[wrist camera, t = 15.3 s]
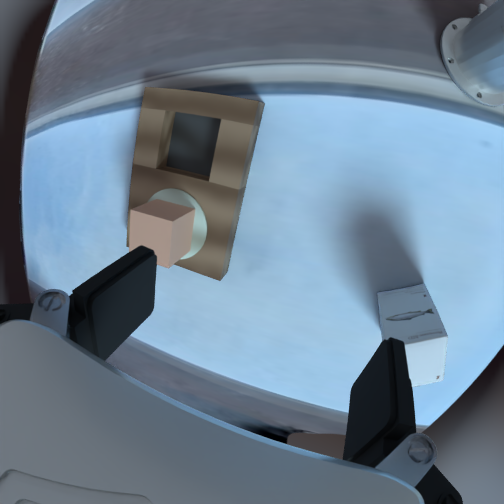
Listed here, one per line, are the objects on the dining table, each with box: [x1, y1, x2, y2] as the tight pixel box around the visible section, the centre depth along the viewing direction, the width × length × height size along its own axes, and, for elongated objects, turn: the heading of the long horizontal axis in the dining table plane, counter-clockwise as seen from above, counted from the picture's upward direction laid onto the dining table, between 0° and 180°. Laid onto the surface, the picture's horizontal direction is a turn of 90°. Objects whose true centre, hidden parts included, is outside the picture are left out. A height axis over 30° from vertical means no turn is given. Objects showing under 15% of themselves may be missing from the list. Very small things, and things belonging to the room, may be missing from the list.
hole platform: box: [127, 87, 265, 281], centre depth 39 cm, size 24×16×3 cm, turn 167°
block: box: [129, 199, 195, 268], centre depth 37 cm, size 6×6×6 cm
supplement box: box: [377, 284, 448, 387], centre depth 33 cm, size 7×7×13 cm
